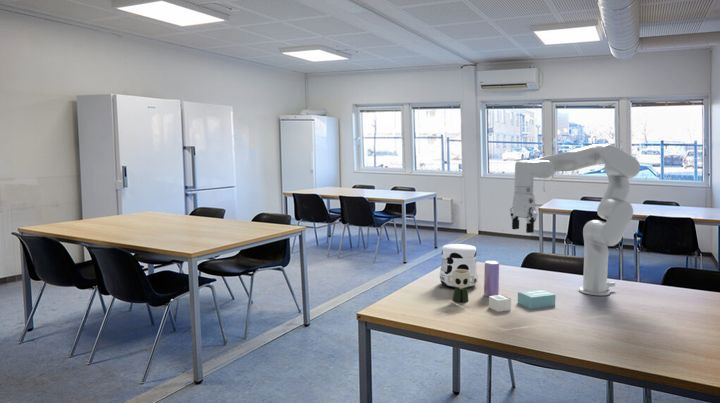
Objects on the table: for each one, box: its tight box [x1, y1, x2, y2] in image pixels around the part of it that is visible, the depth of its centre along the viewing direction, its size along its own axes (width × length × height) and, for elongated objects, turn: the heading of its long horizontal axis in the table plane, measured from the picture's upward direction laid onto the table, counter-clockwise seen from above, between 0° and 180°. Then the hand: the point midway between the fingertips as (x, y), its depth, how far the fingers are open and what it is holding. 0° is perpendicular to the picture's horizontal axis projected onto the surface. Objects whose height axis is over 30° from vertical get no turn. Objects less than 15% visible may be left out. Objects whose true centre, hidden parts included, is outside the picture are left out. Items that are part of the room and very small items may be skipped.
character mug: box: [448, 269, 474, 303], centre depth 221 cm, size 11×7×13 cm, turn 86°
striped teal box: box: [517, 288, 556, 309], centre depth 216 cm, size 12×8×5 cm, turn 109°
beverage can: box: [483, 260, 500, 298], centre depth 228 cm, size 6×6×15 cm
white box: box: [488, 294, 512, 313], centre depth 211 cm, size 6×6×5 cm
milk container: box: [439, 243, 479, 289], centre depth 246 cm, size 17×17×18 cm
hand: (522, 230), depth 226 cm, fingers open, 9 cm apart
